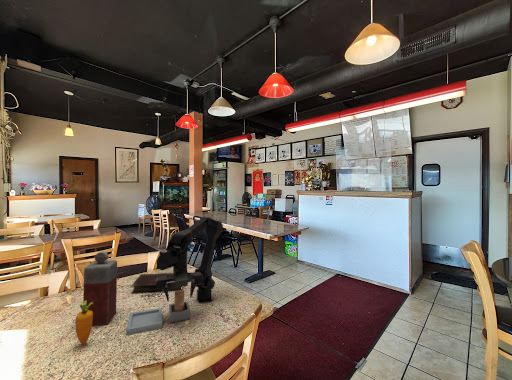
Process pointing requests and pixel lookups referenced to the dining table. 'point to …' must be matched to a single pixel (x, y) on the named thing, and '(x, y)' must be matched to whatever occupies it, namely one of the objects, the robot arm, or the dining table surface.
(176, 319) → the grey square bin
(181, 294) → the dowel pin
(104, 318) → the dark red canister
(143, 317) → the slate tray
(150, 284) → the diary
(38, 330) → the dining table surface
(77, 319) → the carrot
